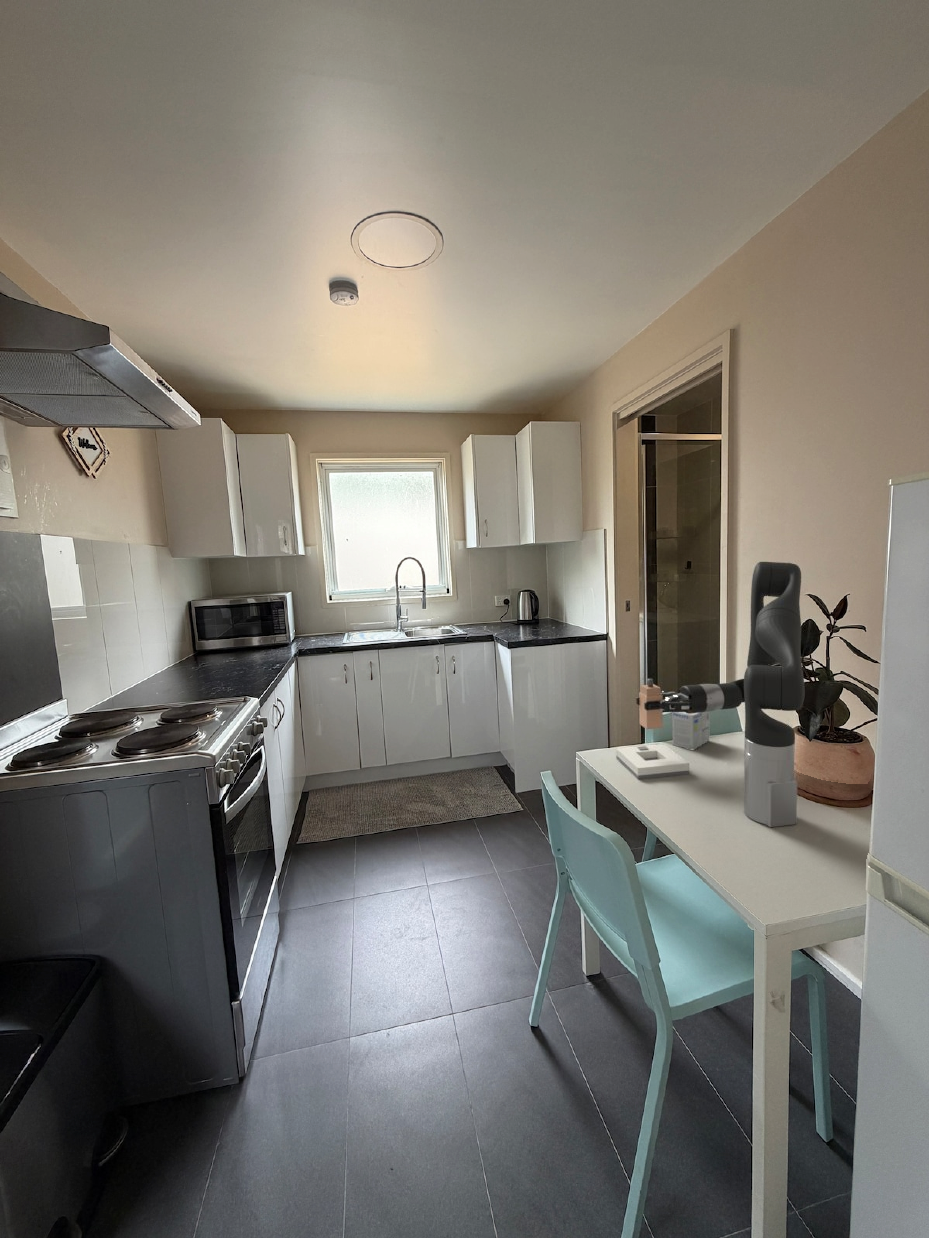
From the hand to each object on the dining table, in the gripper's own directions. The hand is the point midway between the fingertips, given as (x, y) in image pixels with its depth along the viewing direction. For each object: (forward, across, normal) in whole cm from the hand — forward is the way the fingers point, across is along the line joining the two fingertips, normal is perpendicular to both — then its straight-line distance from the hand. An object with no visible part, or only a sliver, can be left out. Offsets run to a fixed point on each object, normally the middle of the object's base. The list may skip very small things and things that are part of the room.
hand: (641, 703), depth 137 cm
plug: (-3, 0, +6) cm, 7 cm away
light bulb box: (-22, -13, +18) cm, 31 cm away
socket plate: (-3, 0, +18) cm, 18 cm away
